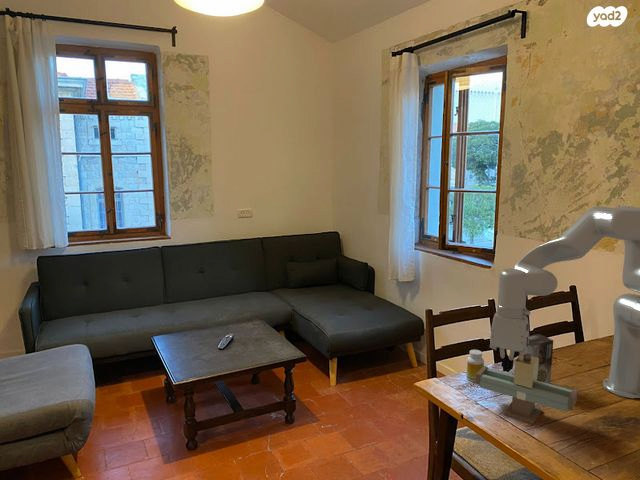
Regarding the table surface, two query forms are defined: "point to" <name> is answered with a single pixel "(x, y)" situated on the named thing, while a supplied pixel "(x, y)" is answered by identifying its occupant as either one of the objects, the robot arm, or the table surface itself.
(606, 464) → the table surface
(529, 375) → the block
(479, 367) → the supplement bottle
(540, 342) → the coffee box
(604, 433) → the table surface
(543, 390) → the beam
